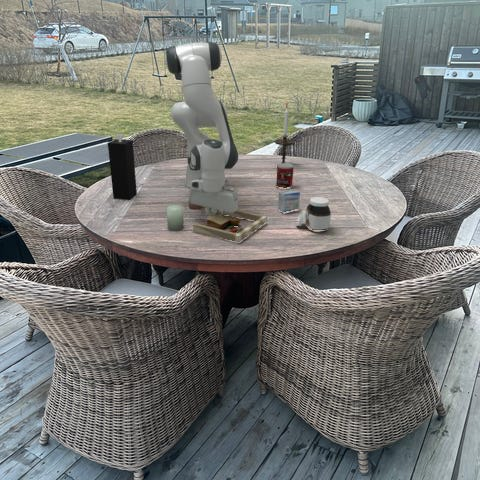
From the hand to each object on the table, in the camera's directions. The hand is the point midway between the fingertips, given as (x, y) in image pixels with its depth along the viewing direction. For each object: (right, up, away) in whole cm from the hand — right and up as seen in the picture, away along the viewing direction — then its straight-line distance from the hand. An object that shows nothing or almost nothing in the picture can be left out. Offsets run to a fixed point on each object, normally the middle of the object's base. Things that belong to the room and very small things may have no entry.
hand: (213, 218), depth 172 cm
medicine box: (+31, +4, +14) cm, 34 cm away
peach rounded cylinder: (-8, +5, +16) cm, 19 cm away
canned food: (+32, +17, +44) cm, 57 cm away
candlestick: (+35, +33, +78) cm, 91 cm away
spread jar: (+38, -4, -2) cm, 38 cm away
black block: (-41, +11, +27) cm, 50 cm away
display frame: (+6, -3, -3) cm, 8 cm away
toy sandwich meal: (+4, -5, -5) cm, 8 cm away
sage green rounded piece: (-14, -4, -4) cm, 15 cm away
